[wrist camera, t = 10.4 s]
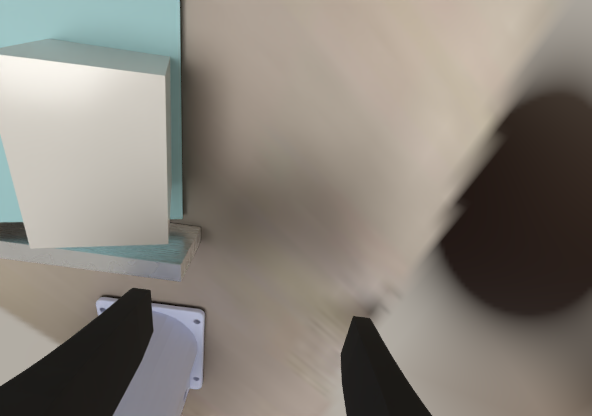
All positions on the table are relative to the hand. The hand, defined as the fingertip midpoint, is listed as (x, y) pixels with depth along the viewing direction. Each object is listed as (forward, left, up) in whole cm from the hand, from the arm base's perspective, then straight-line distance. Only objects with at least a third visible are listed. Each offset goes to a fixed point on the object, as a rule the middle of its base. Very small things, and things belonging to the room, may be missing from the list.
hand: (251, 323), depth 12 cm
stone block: (+4, +8, -8) cm, 13 cm away
